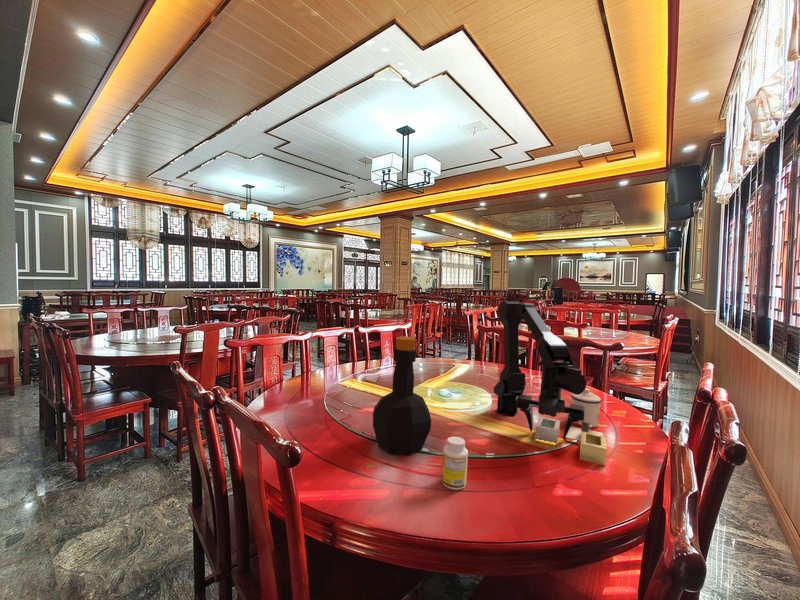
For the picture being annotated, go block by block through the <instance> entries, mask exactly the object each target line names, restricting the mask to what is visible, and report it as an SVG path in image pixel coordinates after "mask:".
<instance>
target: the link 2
mask: <svg viewBox="0 0 800 600" xmlns="http://www.w3.org/2000/svg"><path fill="white" fill-rule="evenodd" d="M579 445H580V447H579V460H581V461H584V462H588V463H592V464H597V465H601V466H606V460H607V449H608V448H607V439H606V435H603V436H601V435H597V434H592V433H587V432H583V431H582V432H581V444H579Z"/></svg>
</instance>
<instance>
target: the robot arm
mask: <svg viewBox="0 0 800 600" xmlns="http://www.w3.org/2000/svg"><path fill="white" fill-rule="evenodd" d="M497 312H498V319H499V321H500V322H501V324H502V325H503V345H504V346H503V351H504V352H503V356H504V357H503V361H504V362H503V363H504V365H503V366H504V367H503V368H502V370H501V372H500V374H499V381H498V382H497V383H496V384H495V386H493V393H494V395H496V396H497V401H496V402H497V406H496V410H495V413H498V414H501V415H506V416H511V417H514V416H516V414H518V413H519V410H520V411H521V412H523V413H524V415H525V417H526V421H527V423H528V427H529V430H530V432H532V431H533V428H534V423H533V421H534V420H533V417H534V416H533V408H538V413H539V414H540V415H542V416H543V415H545V416H550V417H552V418H554V417H557V415H558V414H561V413H562V414H567V417H566V422H565V426H564V431H563V436H562V438H563V440H566V435H567V433H568V431H569V429H570V427H571V426H572V425H573V424H575V423H574V422H579V420H580V421H584V412H585V408H584V407H583V406H581V405H575V404H571V403H569V406H566V399H565V400H564V399H561V398H562V390H564V391H566V392H568V393H571V394H572V393H573V394H575V395H578V394H581V393H582V392H583V391H584V390H585V388H587V380H586V377H585V376H584V375H583V374H582V369H580V368H575V367H576V365H575V363H574V360H573V357H572V356H571V353H570V351H569V348H568V345H567V344H566V343H565V342H564V341H563V339H561V338H560V337H558V336H557V335H555V334H554V333H553V332H551V330H550V328H549V327H548V326H547V324H546V323H545V321H544V320H543V318H542V317H541V315H540V313H538V311H537V309H536V305H535V304H534V303H532V302H520V301H513V300H512V301H511V300H510V301H509V300H508V301H507V300H503V301H501V303H500V304H499V305H498V306H497ZM522 321H524V323H525V324H526V326H527V327H528V329H529V331H530V332H531V334H532V336H533V338H534V339H535V341H536V349H537V352H538V355H539V357H540V358H541V360H540V361H539V362H537V365H538V366H539V367H541V381H540V382H541V383H540V394H539V395H538V400H534V399H533V396H531V395H526V394H524V391H525V389H526V385H527V383H526V377H527V376H526V373H525V372H522V370H521V369H520V352H519V351H520V349H519V348H520V347H519V345H520V344H519V343H520V341H519V336H520V335H519V326H520V324H521V323H522ZM557 413H558V414H557ZM572 427H573V426H572Z"/></svg>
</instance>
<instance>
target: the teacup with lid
mask: <svg viewBox="0 0 800 600" xmlns="http://www.w3.org/2000/svg"><path fill="white" fill-rule="evenodd" d="M570 397H571V403H570V404H575V405H581V406H583V407H584V408H585V412H584V421H587V422H589V423H590V425H592V427H591V428H596V427H598V426H599V422H600V420H599V419H600V410H601V403H602V399H601V397H599V396H598V395H596V394H594V393H593V392H591V390H590V389H589V388H587V387H586V388H585V390H584V391H583V392H582V393H581V394H578V395H575V394H573V393H571V396H570ZM578 423H581V424H582V421H580V420H579V422H578Z"/></svg>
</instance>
